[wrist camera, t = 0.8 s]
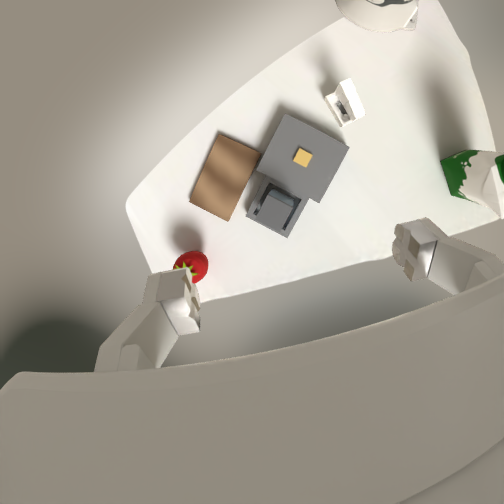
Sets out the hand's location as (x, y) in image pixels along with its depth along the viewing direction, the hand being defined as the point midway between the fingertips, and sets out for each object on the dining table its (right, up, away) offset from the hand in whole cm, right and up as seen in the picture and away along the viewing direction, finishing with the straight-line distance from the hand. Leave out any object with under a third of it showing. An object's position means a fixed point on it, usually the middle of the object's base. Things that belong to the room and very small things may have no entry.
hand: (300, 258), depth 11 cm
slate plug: (+3, +9, +41) cm, 42 cm away
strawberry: (-12, -1, +48) cm, 49 cm away
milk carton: (+38, +16, +32) cm, 52 cm away
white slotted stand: (+14, +25, +33) cm, 44 cm away
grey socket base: (+5, +13, +39) cm, 41 cm away
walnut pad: (-7, +14, +41) cm, 44 cm away
